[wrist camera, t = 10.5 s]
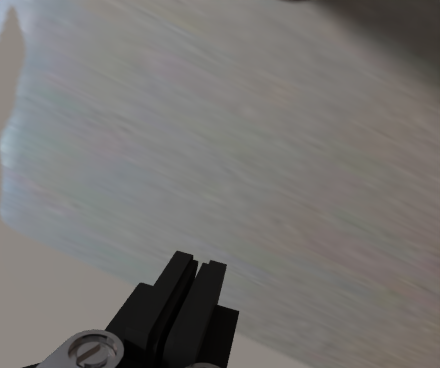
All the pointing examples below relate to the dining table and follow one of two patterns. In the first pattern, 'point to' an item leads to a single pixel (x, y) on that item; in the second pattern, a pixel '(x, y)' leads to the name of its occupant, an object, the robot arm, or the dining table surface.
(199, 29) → the dining table surface
